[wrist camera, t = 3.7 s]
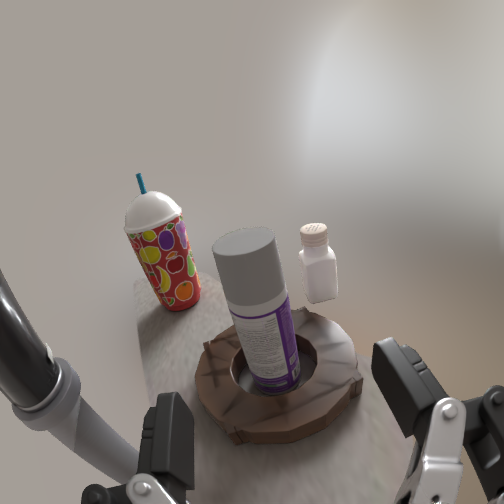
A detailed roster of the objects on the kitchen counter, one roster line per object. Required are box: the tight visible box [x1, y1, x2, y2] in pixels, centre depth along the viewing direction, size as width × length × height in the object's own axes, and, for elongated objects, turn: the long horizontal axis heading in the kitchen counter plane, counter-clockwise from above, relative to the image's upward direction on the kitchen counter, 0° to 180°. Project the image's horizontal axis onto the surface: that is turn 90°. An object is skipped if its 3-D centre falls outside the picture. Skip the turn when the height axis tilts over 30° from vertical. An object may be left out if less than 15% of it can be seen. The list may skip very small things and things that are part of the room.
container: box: [212, 227, 301, 395], centre depth 23 cm, size 5×5×15 cm
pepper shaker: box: [299, 223, 338, 304], centre depth 35 cm, size 4×4×10 cm
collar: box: [195, 307, 363, 446], centre depth 26 cm, size 15×15×2 cm
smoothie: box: [124, 173, 201, 311], centre depth 38 cm, size 8×8×20 cm
